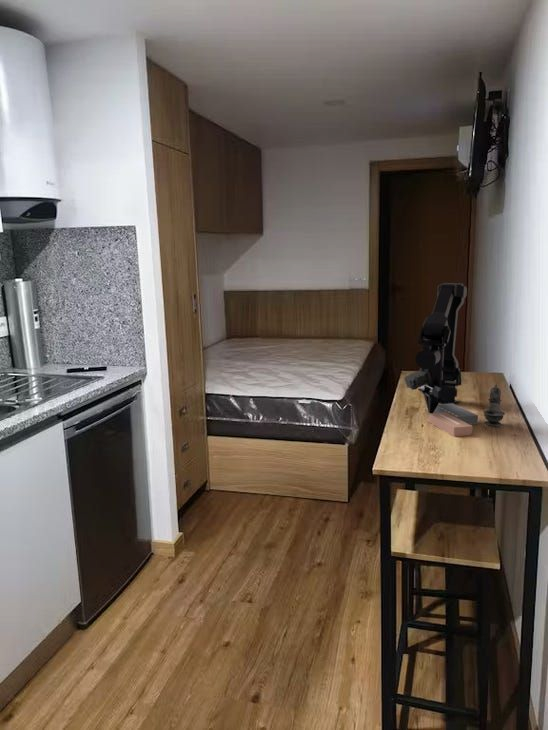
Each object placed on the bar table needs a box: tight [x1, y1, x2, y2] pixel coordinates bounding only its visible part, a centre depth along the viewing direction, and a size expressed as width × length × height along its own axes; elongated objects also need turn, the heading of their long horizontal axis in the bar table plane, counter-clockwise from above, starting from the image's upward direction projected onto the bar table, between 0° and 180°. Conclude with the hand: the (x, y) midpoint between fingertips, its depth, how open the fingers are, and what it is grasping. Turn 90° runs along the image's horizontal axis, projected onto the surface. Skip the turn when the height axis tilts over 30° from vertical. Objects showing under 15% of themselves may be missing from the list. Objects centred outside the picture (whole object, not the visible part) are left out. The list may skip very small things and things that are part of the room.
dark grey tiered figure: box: [483, 384, 506, 428], centre depth 163 cm, size 6×6×12 cm
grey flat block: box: [433, 403, 479, 425], centre depth 170 cm, size 14×7×3 cm, turn 13°
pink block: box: [428, 412, 474, 437], centre depth 160 cm, size 14×6×3 cm, turn 13°
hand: (430, 413), depth 171 cm, fingers closed
